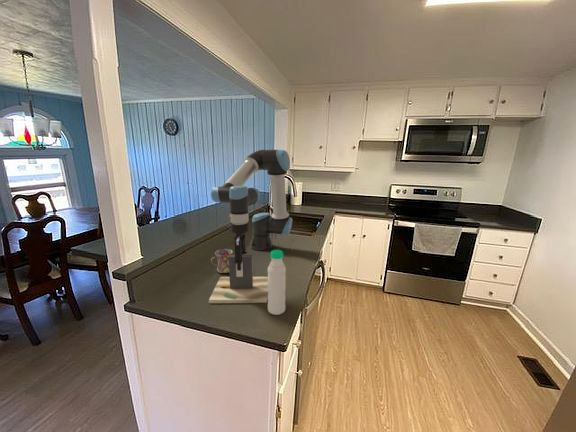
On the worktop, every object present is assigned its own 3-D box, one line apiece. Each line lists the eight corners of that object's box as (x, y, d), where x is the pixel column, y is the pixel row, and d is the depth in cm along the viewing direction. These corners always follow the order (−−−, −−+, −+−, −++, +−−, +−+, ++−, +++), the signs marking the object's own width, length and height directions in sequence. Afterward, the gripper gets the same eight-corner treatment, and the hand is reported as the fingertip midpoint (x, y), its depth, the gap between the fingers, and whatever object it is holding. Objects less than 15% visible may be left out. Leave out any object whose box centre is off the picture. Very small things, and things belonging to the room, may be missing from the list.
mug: (228, 265, 134) (227, 247, 132) (237, 270, 128) (236, 252, 125) (207, 271, 126) (206, 253, 124) (216, 278, 120) (215, 258, 117)
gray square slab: (222, 285, 109) (220, 254, 106) (253, 285, 110) (252, 254, 106) (221, 288, 107) (219, 257, 103) (252, 288, 107) (251, 257, 104)
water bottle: (285, 304, 98) (286, 247, 93) (285, 315, 92) (286, 254, 86) (268, 304, 98) (267, 247, 92) (267, 315, 91) (266, 254, 86)
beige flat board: (220, 279, 118) (220, 276, 118) (269, 279, 119) (268, 276, 119) (209, 303, 99) (208, 299, 98) (267, 302, 100) (267, 299, 99)
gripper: (235, 216, 111) (236, 262, 117) (225, 229, 91) (228, 283, 97) (251, 217, 112) (252, 262, 117) (245, 229, 92) (246, 283, 97)
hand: (241, 271), depth 107 cm, fingers open, 8 cm apart
